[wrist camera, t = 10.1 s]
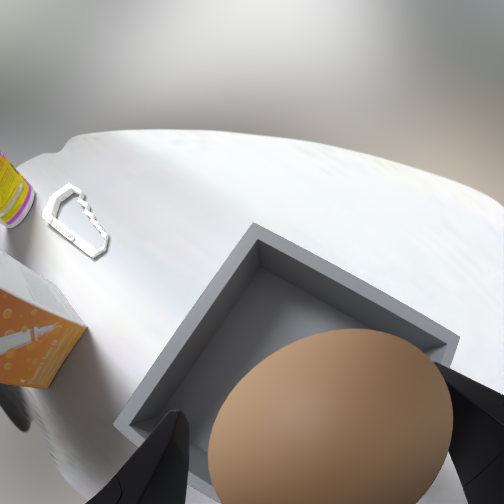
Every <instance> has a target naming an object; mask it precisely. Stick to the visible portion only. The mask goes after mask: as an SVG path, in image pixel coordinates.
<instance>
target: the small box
mask: <svg viewBox="0 0 504 504" xmlns="http://www.w3.org/2000/svg"><path fill="white" fill-rule="evenodd" d="M86 329H87V326H86V325H85V323H84V322H83V321H82V320H81V319H80V317H79V316H78V315H77V313H76V312H75V311H74V309H73V308H72V307H71V305H70V304H69V303H68V301H67V300H66V298H65V297H64V296H63V294H62V293H61V291H60V290H59V288H58V287H57V286H56V285H55V284H54V283H52V282H50V281H49V280H47V279H45V278H44V277H42V276H40V275H39V274H37V273H36V272H34V271H32V270H31V269H29V268H28V267H26V266H24V265H23V264H21V263H20V262H18V261H17V260H15V259H14V258H12V257H11V256H9V255H8V254H6V253H5V252H3V251H2V250H1V249H0V383H4V384H10V385H16V386H24V387H33V388H41V389H48V388H49V386H50V384H51V382H52V380H53V378H54V377H55V375H56V373H57V372H58V370H59V368H60V367H61V365H62V364H63V362H64V361H65V359H66V357H67V356H68V354H69V353H70V352H71V350H72V349H73V347H74V346H75V344H76V343H77V341H78V340H79V339H80V337H81V336H82V334H83V333H84V332H85V330H86Z"/></svg>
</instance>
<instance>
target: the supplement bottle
mask: <svg viewBox="0 0 504 504" xmlns="http://www.w3.org/2000/svg"><path fill="white" fill-rule="evenodd" d="M33 200H34V189H33V187H32V186H31V185H30V184H29V183H28V182H27V180H26V179H25V178H24V177H23V176H22V175H21V174H20V173H19V172H18V171H17V170H16V169H15V168H14V166H13V165H12V164H11V163H10V162H9V161H8V159H7V158H6V157H5V156H4V155H3V154H2V152H1V151H0V223H1V224H3V225H4V226H5V227H7V228H13V227H15V226H17V225H18V224H19V223H20V222H21V221H22V220H23V219H24V218H25V216H26V215H27V213H28V211H29V210H30V208H31V206H32V203H33Z"/></svg>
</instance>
